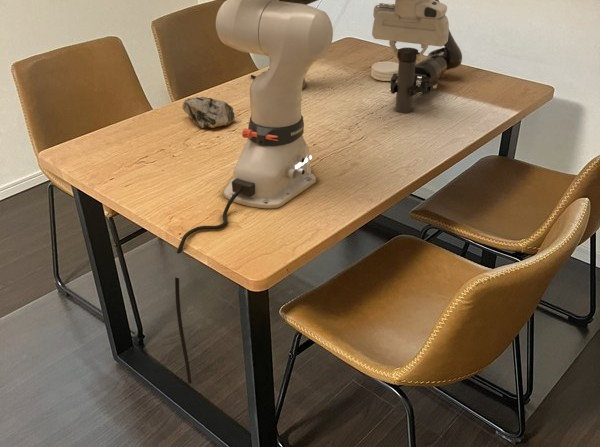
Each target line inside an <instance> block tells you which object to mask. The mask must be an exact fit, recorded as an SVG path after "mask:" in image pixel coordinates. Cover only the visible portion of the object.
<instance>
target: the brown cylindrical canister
mask: <svg viewBox="0 0 600 447" xmlns="http://www.w3.org/2000/svg"><path fill="white" fill-rule="evenodd" d="M398 64H399V67H398V81H397V92H396V94H395V95H396V97H395V111H396V112H397V113H401V114H408V113H411V112H412V110H413V98H414V96H412V97H409V89H411V88H412V87H413V86H414V76H415V65H416V64H417V60H415V61H401V60H399V59H398Z"/></svg>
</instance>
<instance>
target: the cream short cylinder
mask: <svg viewBox="0 0 600 447" xmlns="http://www.w3.org/2000/svg"><path fill="white" fill-rule="evenodd" d="M398 67H399V62H395V61H378V62H375V63H373V64H372V65H371V70H370V71H371V72H370V76H371V78H372V79H374V80H376V81H381V82H391V78H392V76H393V74H395V73H396V74H398Z"/></svg>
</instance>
